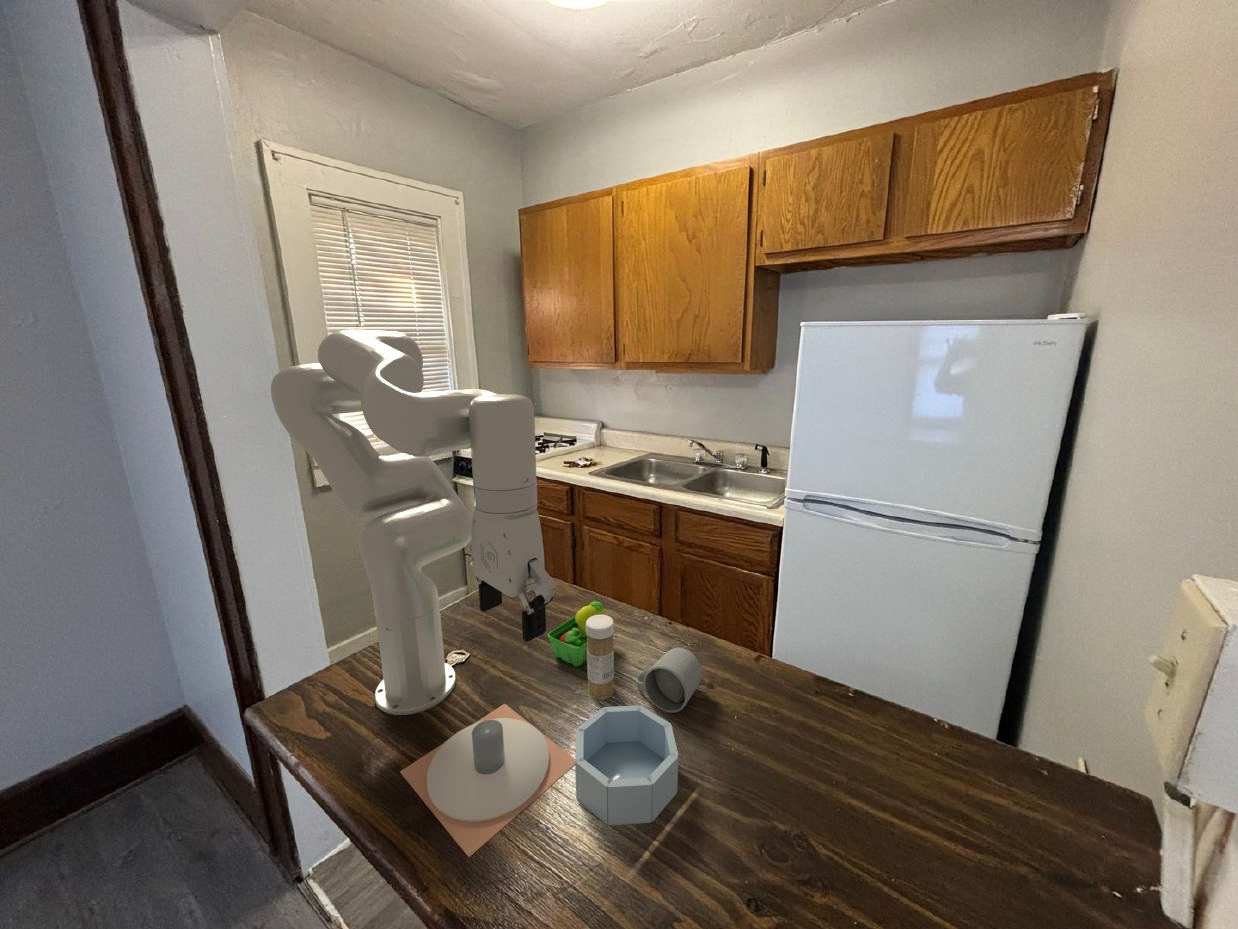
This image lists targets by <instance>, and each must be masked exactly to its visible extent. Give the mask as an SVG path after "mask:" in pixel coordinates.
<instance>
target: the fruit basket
mask: <svg viewBox="0 0 1238 929" xmlns="http://www.w3.org/2000/svg"><path fill="white" fill-rule="evenodd" d="M594 615H605V610H604V605H603V603H602V602H600V601H597V600H596V601H591V602H590V603H589V605H586V606H583V607H581V608H580V609H579V610H578V611H577V612H576V614H575V616H573V617H572V618H570V619H569V620H567V621H565V622H564V623H562V624H561V625H559V626H558V627H556V628H555V629H553V630H551V631H550V632H548V633H547V637H548V640H549V641H550V644H551V647H552V650H553V651H554V652H553V653H554V655H555V657H556V658H558V659H561V660H562V661H564V662H566V663H567V664H572V666H574V667H580V666H581V665H583V663H584V662H587V634H586V621H587V620H588V619H589V618H590V617H592V616H594Z"/></svg>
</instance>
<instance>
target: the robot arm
mask: <svg viewBox="0 0 1238 929" xmlns="http://www.w3.org/2000/svg"><path fill="white" fill-rule="evenodd" d="M318 346H319V347H318V349H317V359H318V362H317V363H303V364H299V365H298V364H297V365H292V366H289V367H287V368H284V369H282V370H280V371H278V372H277V373H276V374H275V375H274V376H273V378H272V381H271V385H270V395H271V401H272V404H273V407H274V408H273V409H274V410H275V412H276V415H277V417H278V419H279V421H280V422H281V425H282V426H283V427H284V429H285V431H286V432H287V433H288V435H290V437H292V439H293V440H294V442H297V443H298V445H299V446H300V447H302V449H303V450H305V452H307V454H308V455H310V456H311V458H313V460H314V462H315V463H316V465H317V466H318V468H319V470H320V471H321V473H322V475H323V476H324V478H325V480H326V482H327V483H328V484H329V486H330V488H331V489H332V491H333V492H334V494H335V496H336V497H337V500H339V502H340V503H341V506H342V507H344V509H345V511H347V512H348V513H349V515H351V516H352V517H354V518H356V519H357V518H358V519H367V518H368V519H369V518H373V517H375V518H373V519H371V520H369V521H368V522H366V524H365V525H363V527H362V528H361V530H360V531H359V534H358V538H357V546H358V551H359V555H360V558H361V560H362V563H363V565H364V568H365V572H366V575H367V578H368V582H369V586H370V592H371V597H372V603H373V610H374V615H375V623H376V624H375V625H376V632H377V637H378V639H377V640H378V645H379V654H380V661H381V662H380V663H381V668H382V678H383V679H382V680H381V681H380V683H379V684H378V686H377V687H376V688H375V693H374V701H375V704H376V707H377V708H378V709H379V710H380V711H382V712H384V713H385V714H388V715H394V716H406V715H414V714H417V713H420V712H424V711H426V710H430V709H431V708H433V707H434V706H437V705H438V704H440V703H441V702H442V701H444V700H445V699H446V698H447V697H448V696H449V695H450V694H451V693H452V691H453V689H455V685H456V682H457V679H456V678H457V677H456V671H455V669H454V668H453V666H451V665H450V664H448V663H446V662H445V660H446V659H445V652H444V641H443V632H442V631H443V629H442V620H441V611H440V608H441V607H440V601H439V593H438V588H437V585H436V584H435V582H434V580H432V578H430V577H429V576H427V575H426V574H425V573H423V571H422V568H423V567H424V566H425V565H427V564H429V563H432V562H434V561H436V560H438V559H440V558H444V557H445V556H448V555H451V554H453V553H455V552H458V551H460V550H462V549H463V548H465V547H466V546H467V545H468V544H469V543H470V545H469V549H470V552H471V567H472V568H471V569H472V572H473V573H474V576H475V580H476V582H477V583H478V586H477V587H478V600H479V610H480V612H483V613H485V612H487V611H490V610H492V609H495V608H496V607H499V606H501V605H502V604H503V594H504V595H506V596H507V597H512V598H515V597H517V596H518V597H519V599H520V602H521V603H522V606H523V608H524V609H523V611H521V630H522V640H523V641H524V642H526V643H528V642H530V641H532V640H534V639H536V638H538V637H540V636H542V635H544V634H545V633H546V631H547V617H546V615H547V614H546V610H547V609H546V607H548V606H549V604H550V603H551V602H552V601H553V598H554V594H555V592H556V590H557V583H556V582H555V580H554V579H553V578H552V576H550V575H549V573H548V572H547V570H545V568H546V567H545V552H544V543H543V533H542V532H543V531H542V527H541V521H540V516H539V511H538V510H537V509H538V489H537V488H538V483H537V482H538V480H537V458H536V457H537V456H536V425H535V422H536V421H535V420H536V419H535V407H534V406H535V405H534V404H533V402H532V400H531V399H530V398H528V397H526V396H524V395H521V394H510V393H509V394H507V393H506V394H505V393H504V394H500V393H495V392H493V391H491V390H487V389H486V390H485V389H483V388H482V389H481V388H480V389H479V388H467V389H465V388H464V389H452V390H450V389H449V390H437V391H435V390H433V391H426V392H423V388H424V384H425V383H424V378H425V377H424V373H423V366H424V365H423V364H424V358H423V354H422V351H421V348H420V347H419V345H418V343H417V342H416V341H415V340H414V339H413V338H412V337H410V336H409V335H408V334H405V333H403V332H400V331H393V330H389V331H388V330H369V329H367V330H366V329H345V330H338V331H335V332H332V333H330V334H329V335H327V336H326V337H324V339H322V341H321V343H320V344H319V345H318ZM358 412H361V413H362V414H363V417H364V419H365V423H366V424H367V426H368V427H369V429H370V431H371V432H372V433H373V435H374V436H375V437H377V438H378V439H379V440H381V441H382V442H384V443H385V444H386V445H388V446H390V448H393V449H394V450H396V451H398V452H397V453H394V454H393V453H392V454H381V453H379V452H378V451H377V450H376V449H375V448H374V446H373V445H372V444H371V442H370V440H369V439H368V437H367V436H366V435H365V434H364V433H363V432H361V431H360V430H359V429H357V427H354V426H353V425H352V424H350V423H348V422H346V421H344V420H342V419H339V418H337V417H335V416H334V415H337V414H348V413H349V414H350V413H351V414H352V413H358ZM468 449H470V451H471V453H470V454H471V456H470V457H471V468H472V469H471V470H472V472H471V473H472V484H473V486H472V487H473V488H472V489H473V501H474V504H473V509H472V518H471V515H470V513H469V511H468V509H467V507H466V506H465V504H464V503H463V501H462V500H461V498H460V496H459V495H458V494H457V492H456V490H455V489H454V488H453V487H452V485H451V484H450V482H449V481H448V479H447V478H446V477H445V475H444V473H443V472H442V471H441V469H440V468H439V466H438V465H437V464H436V463H435V462H434V460H432V458H431V456H437V455H441V454H446V453H451V452H456V451H462V450H468ZM527 582H528V583H530V584H527ZM532 590H533V591H534V593H535V597H534V598H533V599H531V598H530V596H529V592H530V591H532Z"/></svg>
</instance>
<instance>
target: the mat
mask: <svg viewBox="0 0 1238 929" xmlns="http://www.w3.org/2000/svg"><path fill="white" fill-rule="evenodd" d="M496 718H511V719H517V720H521V721H524V722H526V723H529V724H531V723H530V722H529V721H528V720H526V719H525V718H524V717H522V716H521V715H520V714H519V713H517V712H516V711H515V710H513V709H512V707H510V706H508V705H507V704H506V703H504V704H502V705H500V706H499V707H498V708H496V709H494V710H492V712H490V713H488V714H487V715H485V716H483V717H482V718H480V719H479V720H477V721H476V722H474V723H473V724H475V723H478V722H481V721H485V720H489V719H496ZM536 729H537V730H539V729H538V728H536ZM541 734H542V735H543V736H544V738H545V740H546V742H547V745H548V751H549V765H548V771H547V774H546V777H545V779H544V781H543V783H542V784H541V786H540V787H539V789H538V790H537V792H536V793H535V794H534V795H533V796H532V797H531V798H530V799H529V800H528V801H527V802H526V803H525V804H523V805H522V806H521V807H519V808H518V809H516V810H515V811H513V812H511V813H509V814H507V815H505V816H503V817H500V818H497V819H494V820H490V821H486V822H478V823H467V822H460V821H456V820H453V819H450V818H448V817H446V816H444V815H443V814H442V813H440V812H439V811H438V810H437V809H436V808H435V807H434V805H433V804H432V802H431V800H430V798H429V794H428V790H427V773H428V769H429V766H430V763H431V761H432V759H433V757H434V756H435V754H436V753H437V751H438V750H439V749H440V747H441V746H442V745H443V744H444V743H445V742H443V743H442V744H440V745H438V746H437V747H435V748H434V749H432V750H431V751H428V753H426V754H425V755H423V756H422V757H420V758H418V759H417V760H415V761H414V762H413V763H411V764H410V765H408V766H406V767H405V768H403V769H402V770H400V771H399V773H400V774H401V775H402V777H403V778H404V779H405V780H406V782H408V784H409V785H410V786H411V788H412V789H413V790H414V791H415V793H416V794H417V796H419V798H420V799H421V800H422V802H424V804H425V806H426V807H427V808H429V810H430V811H431V813H432V814H433V815H434V816H435V818H436V819H437V820H438V822H439V823H440V824H441V825H442V826H443V827H444V829H445V830H446V831H447V832H448V833H449V835H450V836H451V837H452V839H453V840H454V841H455V843H457V845H458V846H459V847H460V849H461V850H462V851H463V852H464V853H465V855H466V856H467V858H470V857H472V855H473V854H475V853H476V852H477V851H478V850H479V849H481V847H483V846H484V845H485V844H486V843H487V842H488V841H490V840H491V839H492V838H493V837H495V835H497V834H498V833H499V832H500V831H502V829H504V828H505V827H506V826H507V825H508V824H509V823H510V822H511V821H512V820H514V819H515V818H516V817H517V816H519V815H520V813H522V812H523V811H524V810H525V809H526V808H527V807H529V806H530V805H531V804H532V803H533V802H535V800H537V799H538V798H539V797H540V796H541V795H542V794H543V793H545V792H546V791H547V790H548V789H550V787H551V786H553V785H554V784H555V783H556V782H557V781H559V779H561V778H562V777H563V776H564V775H565V774H567V773H568V771H570V770H571V769H572V768H574V766H575V757H573V756H572V755H570V754H569V753H568V752H567V751H565V750H564V749H563V748H561V747H560V746H559V745H558V744H557V743H555V742H554V741H553V740H552V739H550V738H549V737H548V736H547V735H545V734H544V733H543V732H541Z"/></svg>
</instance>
